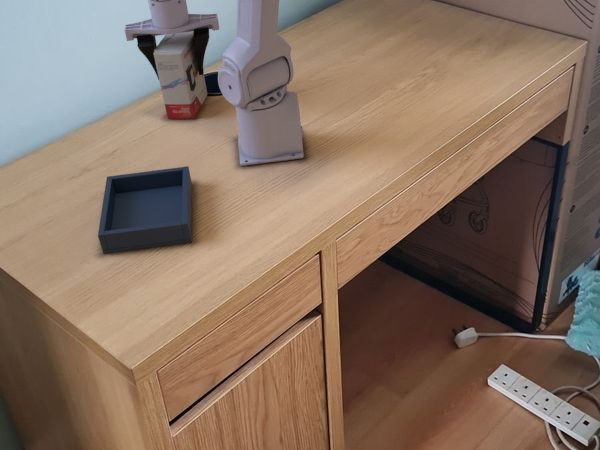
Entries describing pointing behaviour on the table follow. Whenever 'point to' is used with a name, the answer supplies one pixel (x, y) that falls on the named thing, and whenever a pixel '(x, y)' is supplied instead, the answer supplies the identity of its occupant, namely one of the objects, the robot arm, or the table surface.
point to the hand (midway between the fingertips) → (181, 74)
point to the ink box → (180, 75)
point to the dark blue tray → (146, 210)
